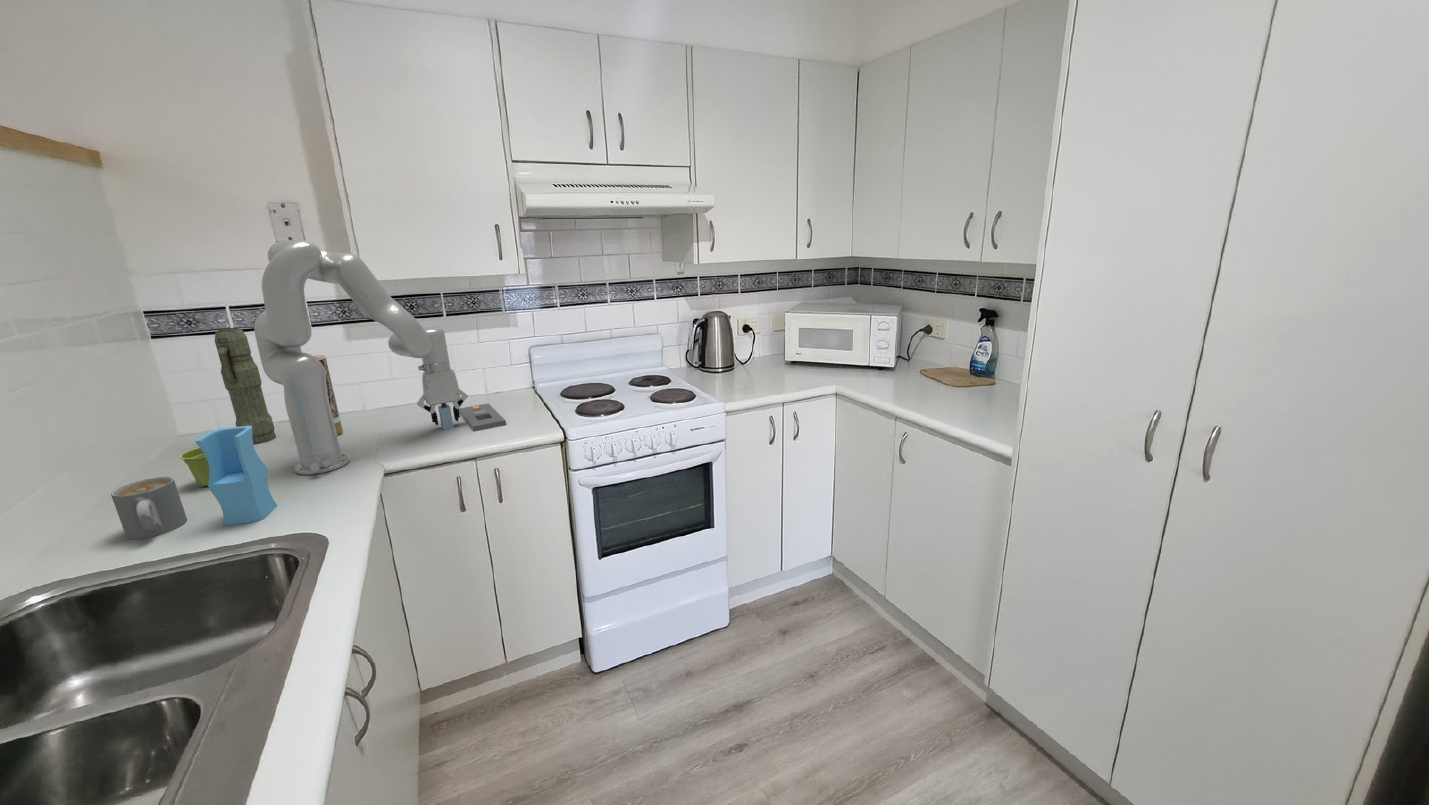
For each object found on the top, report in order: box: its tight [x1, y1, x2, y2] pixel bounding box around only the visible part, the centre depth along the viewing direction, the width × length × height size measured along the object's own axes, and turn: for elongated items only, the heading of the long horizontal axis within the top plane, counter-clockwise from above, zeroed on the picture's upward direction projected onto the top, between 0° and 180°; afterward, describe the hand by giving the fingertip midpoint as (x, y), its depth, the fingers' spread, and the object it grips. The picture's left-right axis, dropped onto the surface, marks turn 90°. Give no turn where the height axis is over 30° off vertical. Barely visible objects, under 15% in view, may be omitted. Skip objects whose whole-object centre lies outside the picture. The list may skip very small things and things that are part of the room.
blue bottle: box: [437, 403, 455, 431], centre depth 187 cm, size 4×3×8 cm
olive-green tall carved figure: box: [214, 327, 277, 445], centre depth 177 cm, size 9×12×35 cm
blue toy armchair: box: [194, 426, 278, 527], centre depth 129 cm, size 8×8×20 cm
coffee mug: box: [110, 476, 188, 540], centre depth 125 cm, size 13×10×10 cm
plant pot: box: [179, 447, 209, 488], centre depth 150 cm, size 9×9×9 cm
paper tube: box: [313, 354, 343, 436], centre depth 181 cm, size 7×7×25 cm
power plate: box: [459, 403, 507, 432], centre depth 195 cm, size 24×10×2 cm, turn 33°
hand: (446, 421), depth 187 cm, fingers open, 5 cm apart
